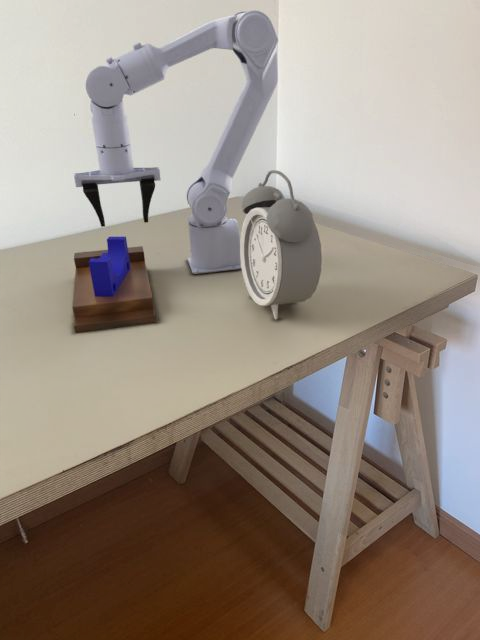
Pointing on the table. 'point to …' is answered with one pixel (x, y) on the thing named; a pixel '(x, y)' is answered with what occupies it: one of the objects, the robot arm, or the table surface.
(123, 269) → the blue curved notched block
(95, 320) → the step shelf
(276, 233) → the alarm clock
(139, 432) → the table surface
